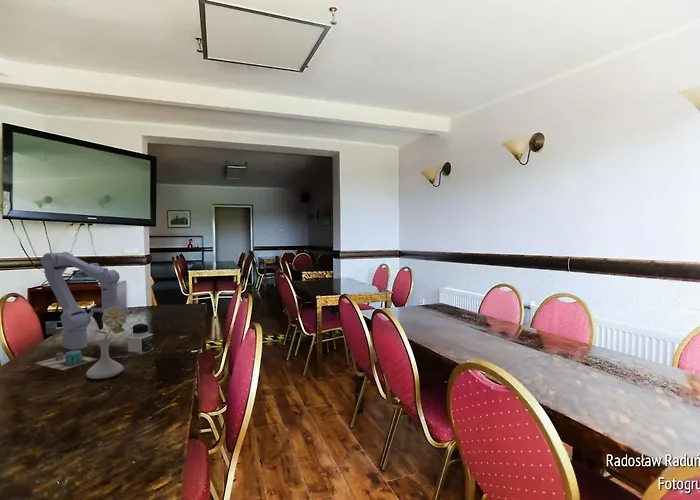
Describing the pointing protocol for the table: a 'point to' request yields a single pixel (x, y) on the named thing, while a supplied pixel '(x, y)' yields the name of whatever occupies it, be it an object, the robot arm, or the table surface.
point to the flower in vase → (106, 364)
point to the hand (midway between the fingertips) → (110, 329)
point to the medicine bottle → (140, 339)
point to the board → (62, 362)
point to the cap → (73, 357)
